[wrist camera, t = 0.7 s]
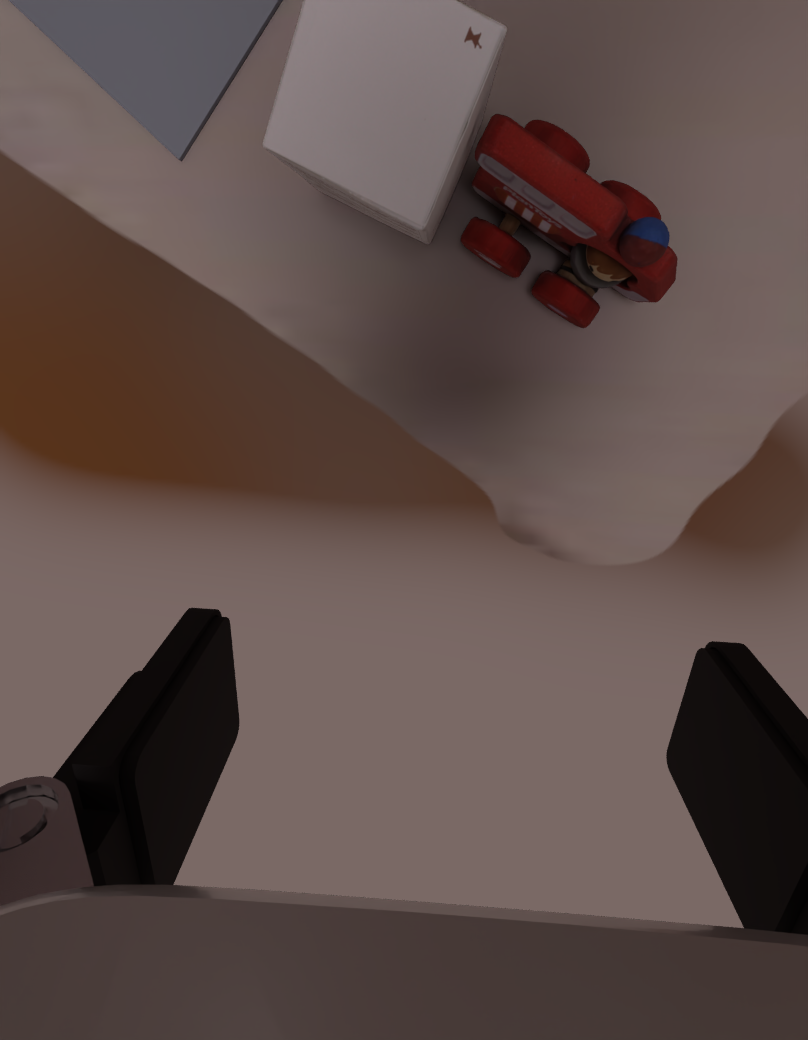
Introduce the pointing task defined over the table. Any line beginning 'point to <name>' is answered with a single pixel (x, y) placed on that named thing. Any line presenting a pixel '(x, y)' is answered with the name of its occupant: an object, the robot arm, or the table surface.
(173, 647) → the robot arm
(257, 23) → the card
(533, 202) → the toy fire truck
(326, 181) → the supplement box
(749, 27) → the table surface
